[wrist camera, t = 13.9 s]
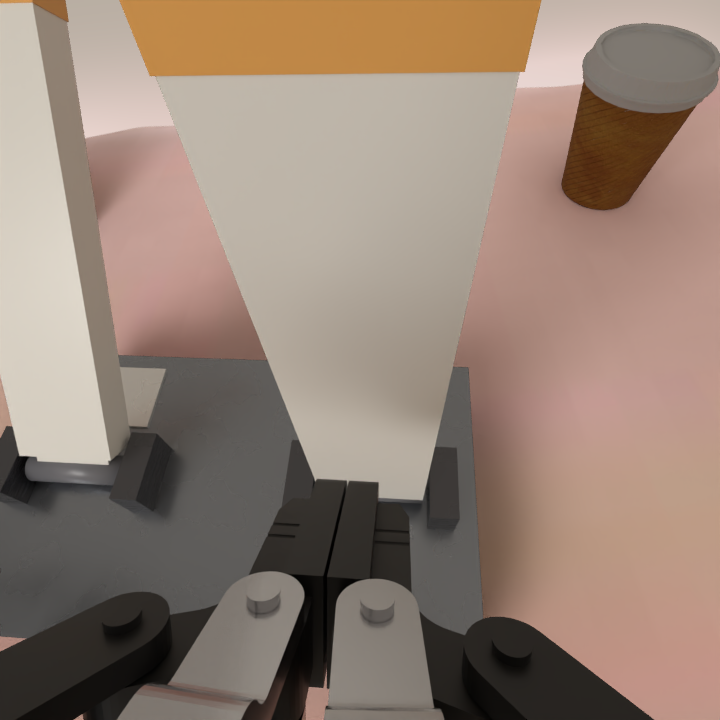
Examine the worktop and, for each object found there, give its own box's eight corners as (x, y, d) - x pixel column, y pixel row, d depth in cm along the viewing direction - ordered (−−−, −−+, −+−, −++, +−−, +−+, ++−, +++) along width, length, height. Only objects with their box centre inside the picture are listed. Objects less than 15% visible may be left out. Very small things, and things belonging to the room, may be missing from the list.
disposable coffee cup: (670, 211, 43) (758, 73, 33) (570, 231, 42) (629, 95, 32) (617, 149, 48) (679, 12, 38) (527, 165, 47) (566, 30, 37)
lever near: (422, 512, 25) (581, -147, 5) (323, 506, 25) (65, -123, 5) (422, 473, 26) (550, -198, 6) (327, 468, 26) (130, -175, 6)
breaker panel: (469, 674, 25) (496, 678, 19) (-8, 634, 27) (-120, 626, 21) (458, 404, 34) (473, 347, 28) (94, 389, 36) (34, 333, 30)
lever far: (117, 494, 25) (23, -62, 18) (24, 489, 26) (-106, -57, 18) (138, 473, 27) (61, -35, 20) (52, 468, 28) (-56, -31, 20)
